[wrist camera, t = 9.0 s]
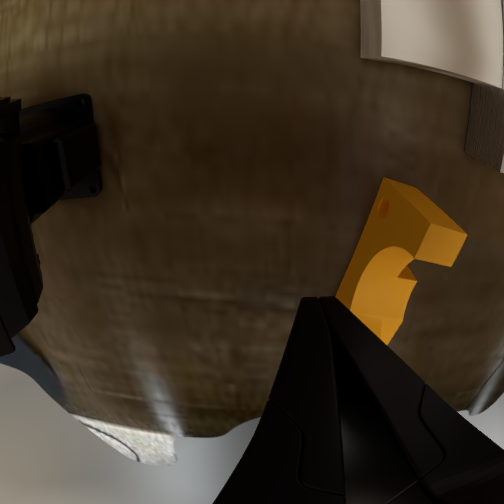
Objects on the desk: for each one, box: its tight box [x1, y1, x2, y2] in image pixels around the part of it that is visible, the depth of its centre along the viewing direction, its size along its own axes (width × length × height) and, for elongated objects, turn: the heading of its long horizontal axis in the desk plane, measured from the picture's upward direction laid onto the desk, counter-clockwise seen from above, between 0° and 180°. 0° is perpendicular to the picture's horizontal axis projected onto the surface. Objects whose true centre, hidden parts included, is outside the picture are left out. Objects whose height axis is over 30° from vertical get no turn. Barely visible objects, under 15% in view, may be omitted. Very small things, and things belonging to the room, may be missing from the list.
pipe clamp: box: [335, 177, 467, 345], centre depth 19 cm, size 12×4×6 cm, turn 168°
